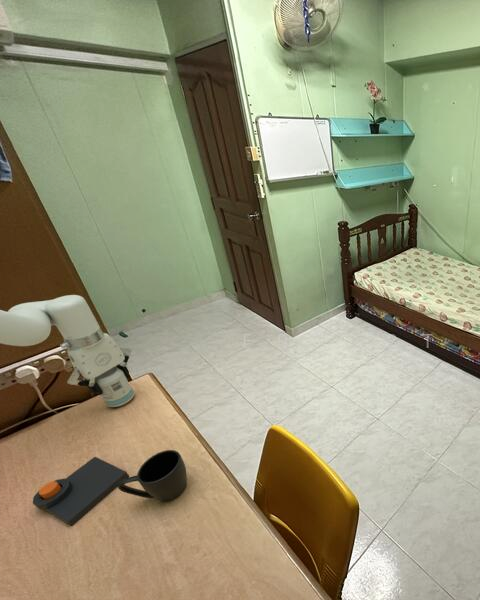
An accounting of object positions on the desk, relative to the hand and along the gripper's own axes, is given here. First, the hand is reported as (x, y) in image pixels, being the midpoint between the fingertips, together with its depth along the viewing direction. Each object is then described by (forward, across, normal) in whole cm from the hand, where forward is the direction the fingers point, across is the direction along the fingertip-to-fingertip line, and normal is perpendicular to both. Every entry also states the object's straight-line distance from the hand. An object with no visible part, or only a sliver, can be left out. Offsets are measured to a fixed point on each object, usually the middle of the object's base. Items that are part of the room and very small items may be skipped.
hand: (112, 384), depth 96 cm
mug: (+7, -16, -40) cm, 44 cm away
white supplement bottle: (+7, 0, 0) cm, 7 cm away
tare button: (+4, -25, -19) cm, 32 cm away
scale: (+7, -22, -22) cm, 32 cm away
